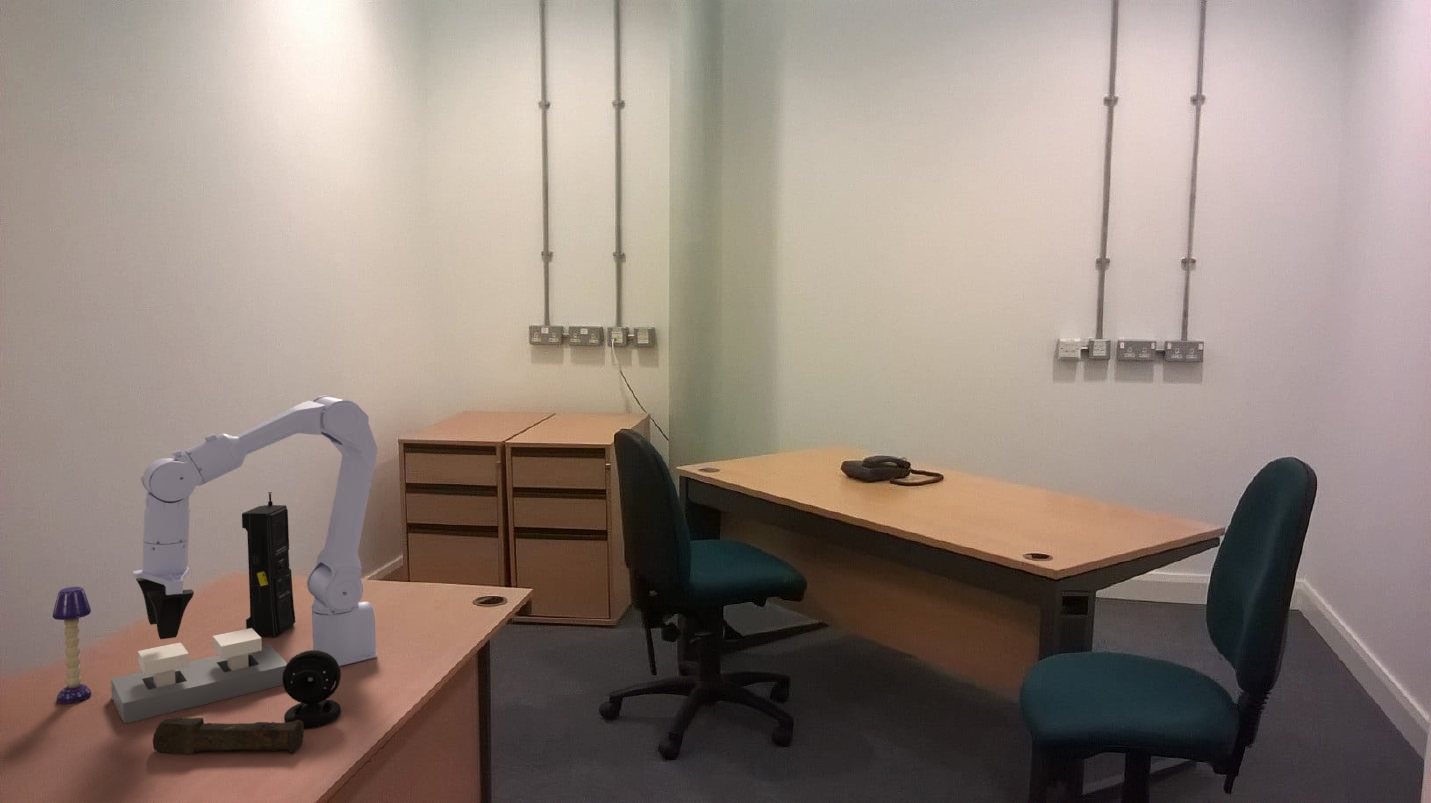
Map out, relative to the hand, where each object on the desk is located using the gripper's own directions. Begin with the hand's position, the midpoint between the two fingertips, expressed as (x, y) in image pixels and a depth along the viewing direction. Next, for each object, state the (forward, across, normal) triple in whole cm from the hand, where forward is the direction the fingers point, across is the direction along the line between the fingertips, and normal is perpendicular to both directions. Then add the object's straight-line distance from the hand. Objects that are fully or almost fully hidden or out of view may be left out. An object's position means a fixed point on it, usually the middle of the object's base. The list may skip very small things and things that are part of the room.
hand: (162, 630), depth 134 cm
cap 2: (+7, 0, +11) cm, 13 cm away
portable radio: (+9, -20, +21) cm, 30 cm away
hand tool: (+11, +23, +4) cm, 26 cm away
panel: (+10, 0, +6) cm, 12 cm away
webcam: (+10, +20, +16) cm, 27 cm away
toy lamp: (+12, -9, -9) cm, 17 cm away
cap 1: (+8, 0, +1) cm, 8 cm away
